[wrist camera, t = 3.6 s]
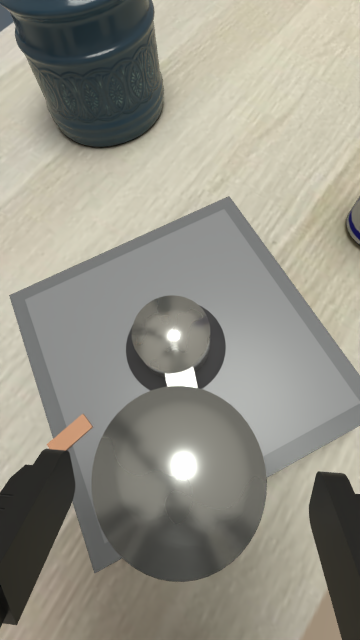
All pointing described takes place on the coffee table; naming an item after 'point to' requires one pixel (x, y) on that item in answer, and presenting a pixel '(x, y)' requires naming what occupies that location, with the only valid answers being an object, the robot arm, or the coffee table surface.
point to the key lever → (177, 459)
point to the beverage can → (354, 221)
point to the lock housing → (224, 354)
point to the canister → (93, 65)
